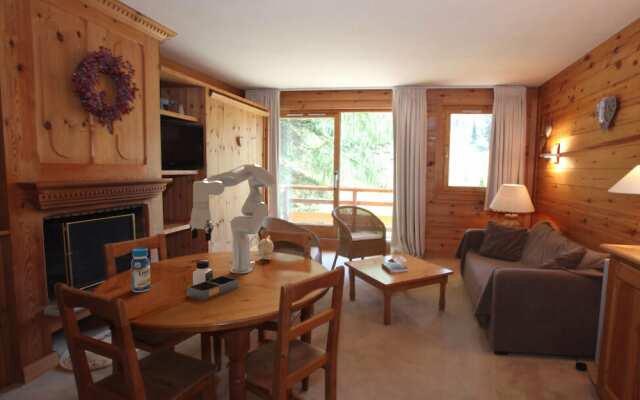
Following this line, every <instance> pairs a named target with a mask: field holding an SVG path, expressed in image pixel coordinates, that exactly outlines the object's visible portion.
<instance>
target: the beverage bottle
mask: <svg viewBox="0 0 640 400" xmlns="http://www.w3.org/2000/svg"><path fill="white" fill-rule="evenodd" d="M131 251H132V252H131V253H132V254H131V255H132V259H131V263H130V266H131V268H130V272H131V283H132V284H131V291H132V292H133V293H144V292H148V291H150V290H151V287H152V286H151V266H150V263H151V261H150V258H149V257H147V256H148V255H149V249H148V247H138V248H133V249H132V250H131Z"/></svg>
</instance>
